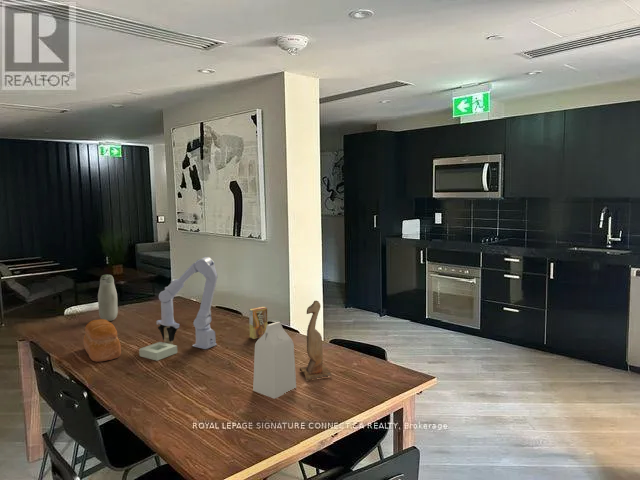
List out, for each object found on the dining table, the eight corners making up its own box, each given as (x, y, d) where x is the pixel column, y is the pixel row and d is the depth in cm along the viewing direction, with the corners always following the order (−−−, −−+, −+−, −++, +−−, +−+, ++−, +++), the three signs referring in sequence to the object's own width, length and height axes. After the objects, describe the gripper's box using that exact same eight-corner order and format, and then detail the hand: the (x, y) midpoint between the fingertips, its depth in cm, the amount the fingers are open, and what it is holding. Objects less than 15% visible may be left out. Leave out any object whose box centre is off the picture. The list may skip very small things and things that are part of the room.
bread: (91, 364, 207) (89, 331, 206) (82, 348, 229) (80, 318, 227) (123, 358, 215) (122, 326, 214) (111, 343, 236) (110, 314, 235)
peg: (174, 344, 234) (173, 326, 233) (168, 346, 231) (167, 329, 230) (169, 343, 236) (168, 325, 235) (162, 345, 233) (161, 327, 232)
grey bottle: (95, 322, 275) (93, 275, 273) (108, 317, 285) (105, 272, 282) (109, 323, 273) (107, 276, 270) (121, 319, 282) (119, 273, 279)
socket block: (177, 352, 221) (177, 345, 221) (156, 360, 211) (156, 353, 211) (160, 348, 228) (160, 341, 227) (139, 356, 217) (139, 348, 217)
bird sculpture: (297, 372, 197) (294, 299, 193) (323, 368, 201) (321, 295, 197) (306, 383, 186) (303, 305, 182) (333, 378, 190) (331, 301, 186)
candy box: (263, 334, 250) (263, 306, 248) (268, 336, 247) (267, 307, 245) (249, 337, 244) (248, 308, 243) (253, 339, 241) (253, 310, 239)
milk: (275, 380, 188) (274, 317, 185) (296, 388, 180) (295, 322, 178) (253, 390, 178) (251, 324, 176) (274, 398, 171) (273, 329, 169)
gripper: (183, 313, 231) (184, 340, 233) (163, 310, 239) (164, 335, 240) (172, 316, 225) (173, 344, 227) (152, 313, 233) (153, 339, 234)
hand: (168, 340), depth 233 cm, fingers closed on peg, 4 cm apart
